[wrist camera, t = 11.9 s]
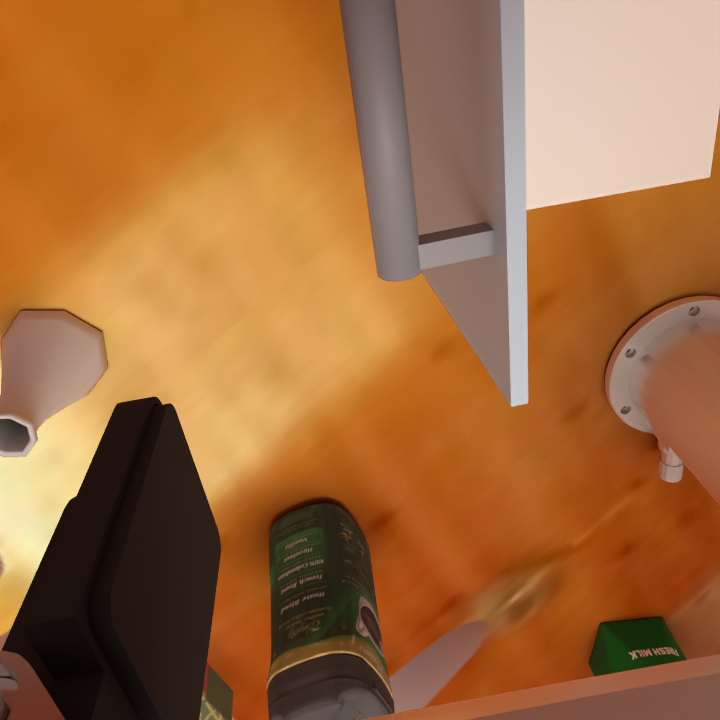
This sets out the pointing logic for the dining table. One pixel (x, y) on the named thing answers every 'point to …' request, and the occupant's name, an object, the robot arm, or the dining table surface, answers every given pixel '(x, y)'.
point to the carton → (215, 698)
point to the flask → (44, 373)
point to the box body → (618, 95)
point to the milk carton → (633, 646)
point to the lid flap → (448, 161)
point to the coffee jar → (324, 620)
